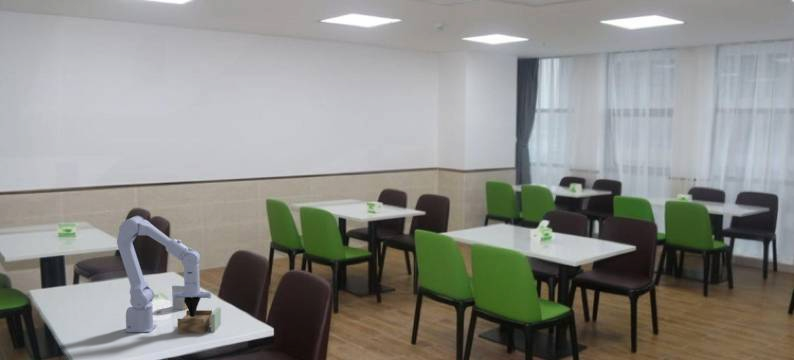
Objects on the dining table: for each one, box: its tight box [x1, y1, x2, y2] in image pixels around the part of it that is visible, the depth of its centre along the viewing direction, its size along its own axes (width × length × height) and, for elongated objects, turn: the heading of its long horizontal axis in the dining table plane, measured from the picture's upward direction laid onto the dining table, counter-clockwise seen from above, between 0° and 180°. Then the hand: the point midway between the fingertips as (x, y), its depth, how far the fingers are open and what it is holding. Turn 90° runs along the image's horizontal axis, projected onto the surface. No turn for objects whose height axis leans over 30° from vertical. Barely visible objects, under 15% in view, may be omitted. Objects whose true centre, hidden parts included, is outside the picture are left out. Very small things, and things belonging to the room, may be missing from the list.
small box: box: [171, 280, 188, 311], centre depth 287 cm, size 8×6×10 cm
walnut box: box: [177, 309, 213, 334], centre depth 259 cm, size 10×12×6 cm
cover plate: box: [210, 307, 222, 333], centre depth 259 cm, size 7×9×2 cm
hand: (192, 316), depth 259 cm, fingers closed
